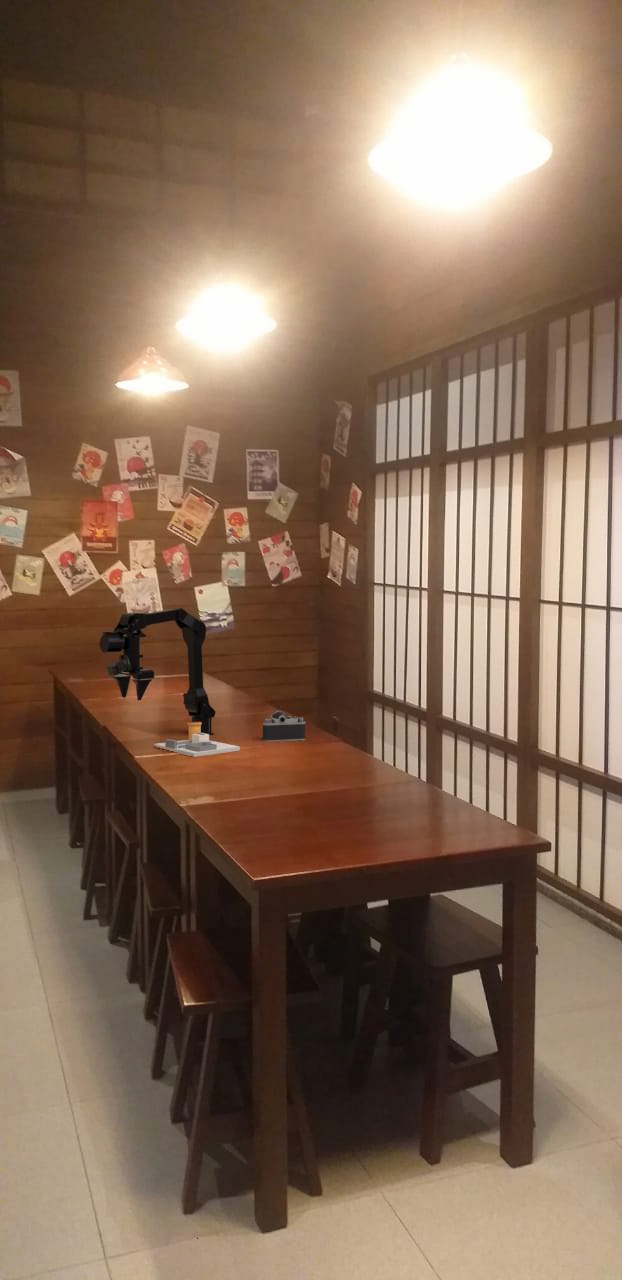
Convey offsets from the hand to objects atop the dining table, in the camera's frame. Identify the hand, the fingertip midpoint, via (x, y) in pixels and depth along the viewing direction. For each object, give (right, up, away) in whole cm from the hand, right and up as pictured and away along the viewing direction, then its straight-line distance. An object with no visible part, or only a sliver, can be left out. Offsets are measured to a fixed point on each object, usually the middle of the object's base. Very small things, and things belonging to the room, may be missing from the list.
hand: (131, 698), depth 321 cm
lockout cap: (+20, -14, +5) cm, 25 cm away
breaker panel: (+22, -16, -5) cm, 27 cm away
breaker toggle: (+23, -14, -1) cm, 27 cm away
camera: (+49, -15, +16) cm, 54 cm away
